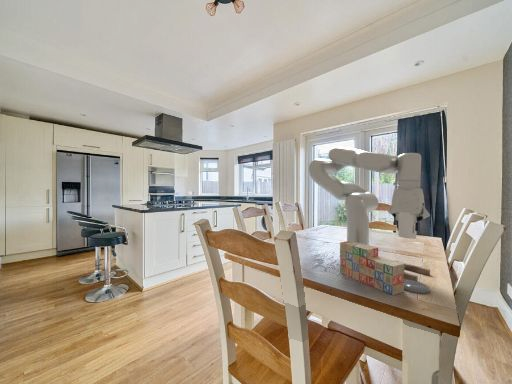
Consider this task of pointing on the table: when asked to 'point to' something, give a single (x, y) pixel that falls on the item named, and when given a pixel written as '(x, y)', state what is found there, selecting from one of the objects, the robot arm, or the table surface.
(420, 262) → the table surface
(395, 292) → the stack of blocks
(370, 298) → the table surface
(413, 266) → the walnut rack
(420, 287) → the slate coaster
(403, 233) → the white cylinder
